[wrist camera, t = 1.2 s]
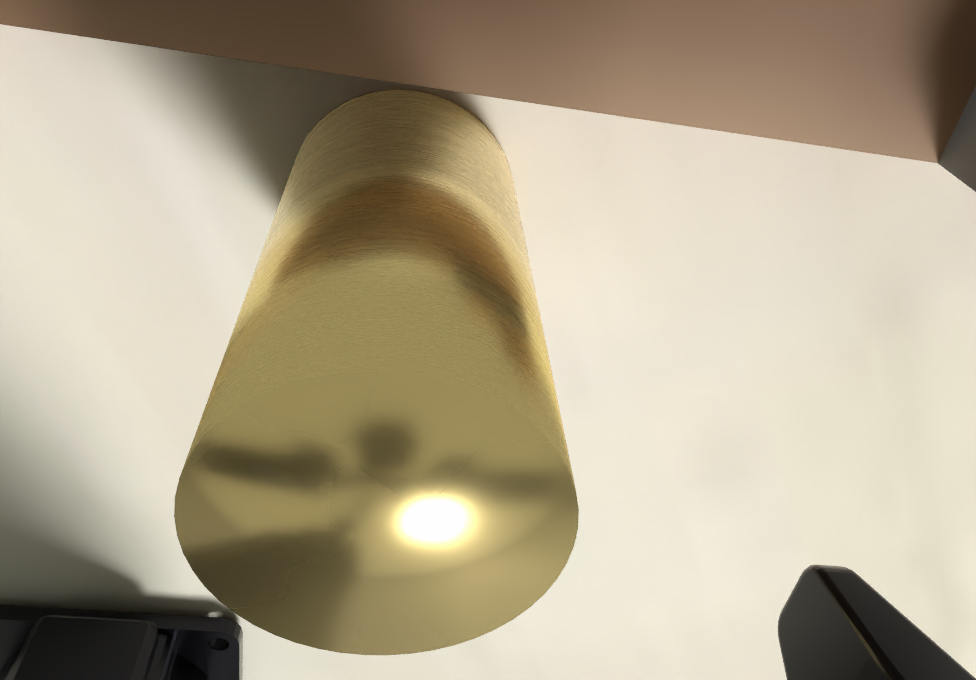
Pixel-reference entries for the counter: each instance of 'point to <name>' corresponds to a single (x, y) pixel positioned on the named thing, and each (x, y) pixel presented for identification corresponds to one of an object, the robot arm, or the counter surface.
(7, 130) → the counter surface
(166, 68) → the counter surface
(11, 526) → the counter surface
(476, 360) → the brass cylinder rod
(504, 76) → the jig
